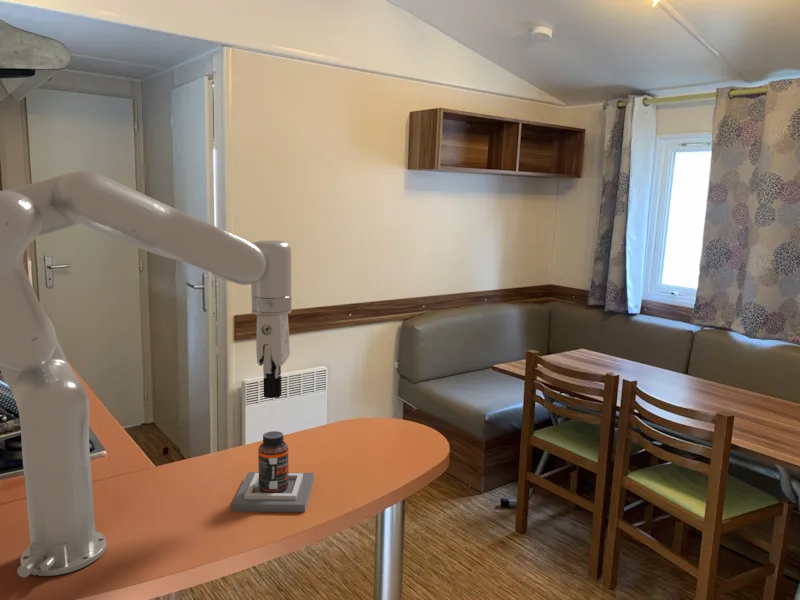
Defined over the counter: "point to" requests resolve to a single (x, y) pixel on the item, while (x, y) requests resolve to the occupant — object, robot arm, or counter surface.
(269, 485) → the supplement bottle
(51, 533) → the robot arm
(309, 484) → the socket plate
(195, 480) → the counter surface
